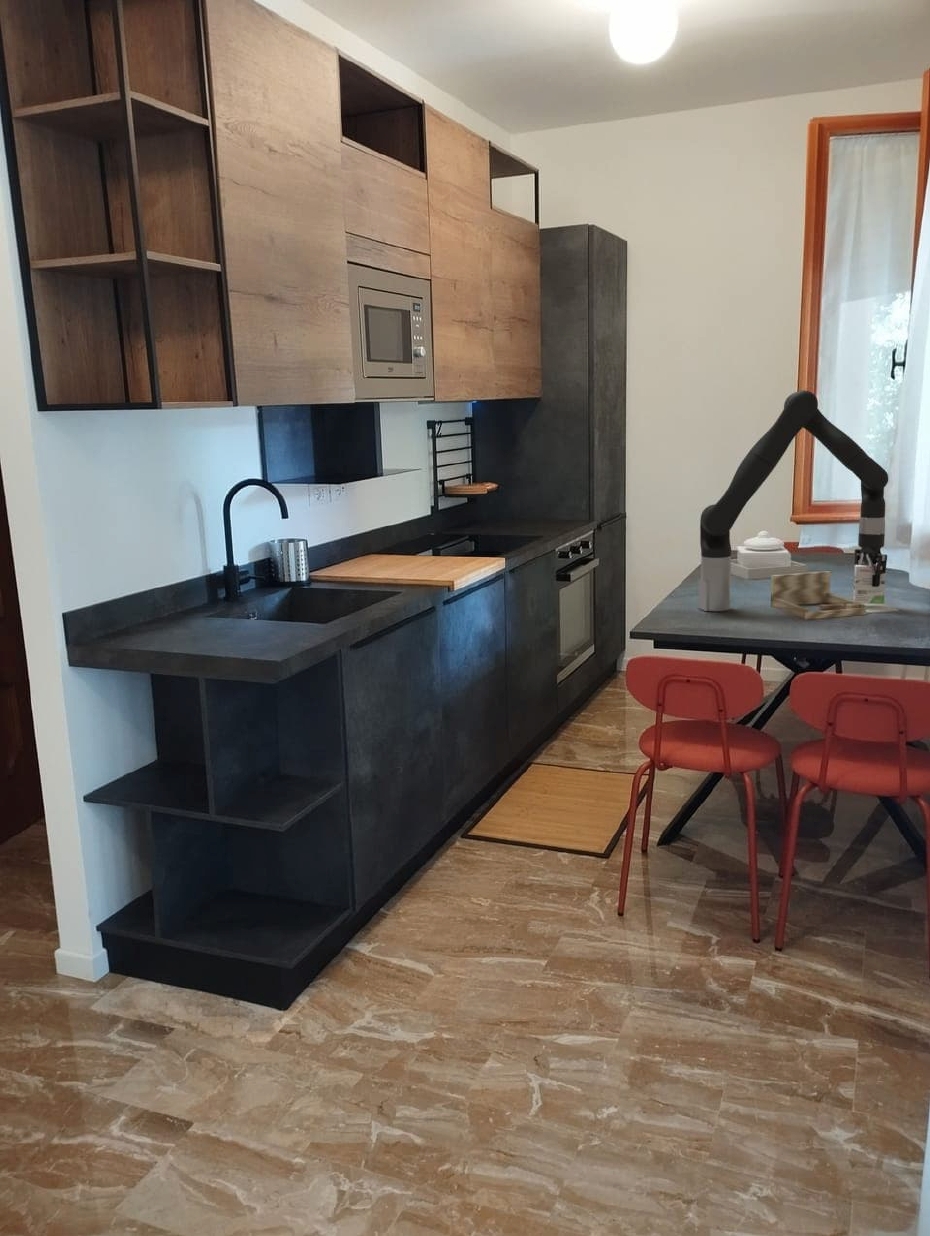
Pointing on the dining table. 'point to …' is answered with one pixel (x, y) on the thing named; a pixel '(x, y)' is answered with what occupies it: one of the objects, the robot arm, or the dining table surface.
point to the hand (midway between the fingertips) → (869, 584)
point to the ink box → (867, 586)
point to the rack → (808, 595)
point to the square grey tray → (766, 570)
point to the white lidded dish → (763, 552)
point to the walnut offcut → (831, 607)
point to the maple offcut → (852, 606)
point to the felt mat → (878, 608)
